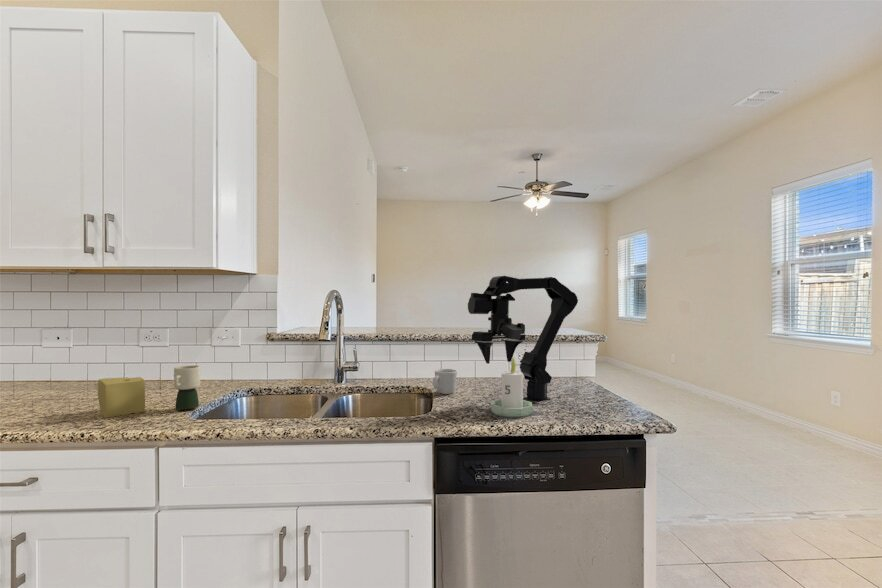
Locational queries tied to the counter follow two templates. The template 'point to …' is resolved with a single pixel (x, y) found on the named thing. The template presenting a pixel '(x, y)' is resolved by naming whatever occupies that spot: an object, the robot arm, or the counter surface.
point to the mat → (512, 417)
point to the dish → (511, 409)
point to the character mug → (187, 386)
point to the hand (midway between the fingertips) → (498, 362)
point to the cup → (445, 380)
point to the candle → (512, 388)
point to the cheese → (121, 396)
